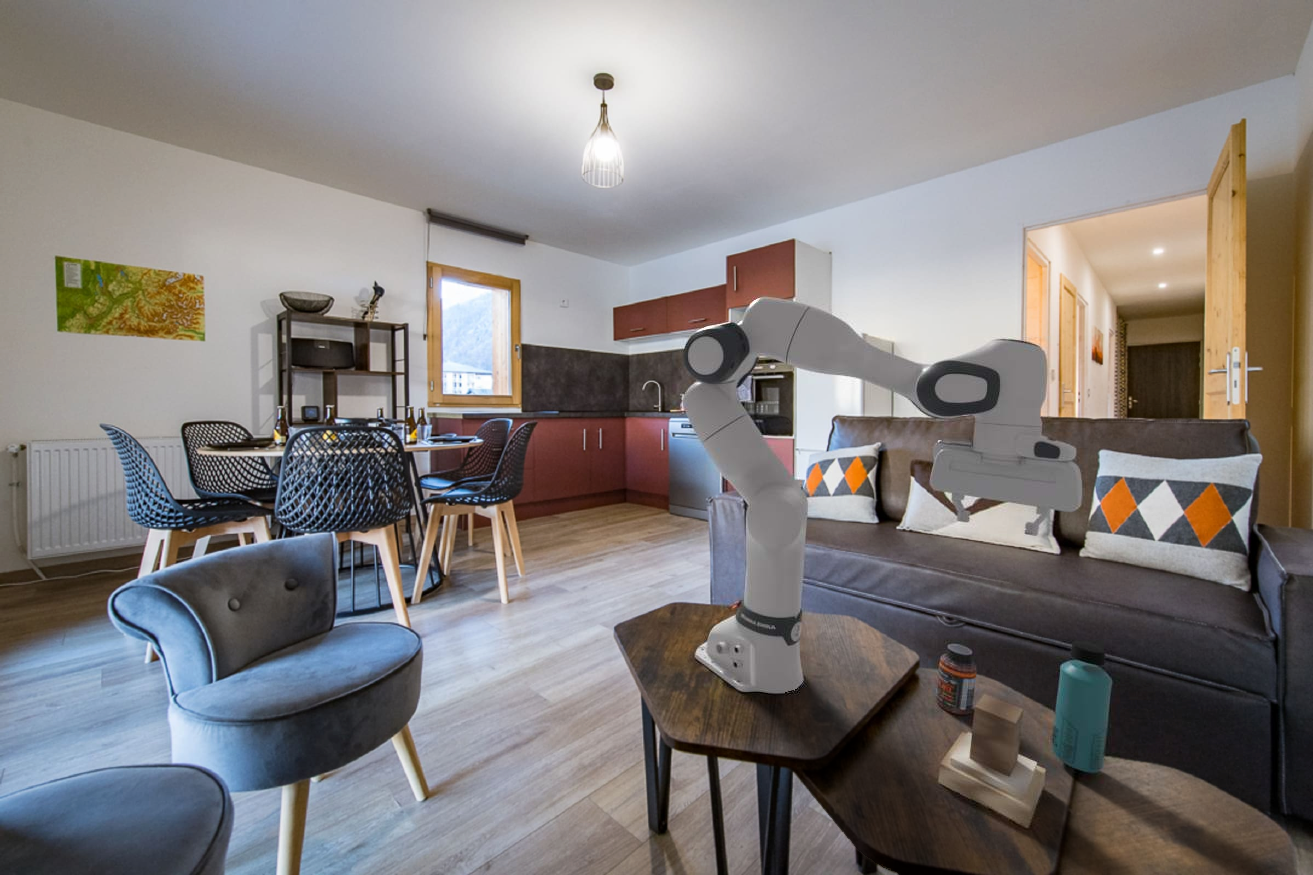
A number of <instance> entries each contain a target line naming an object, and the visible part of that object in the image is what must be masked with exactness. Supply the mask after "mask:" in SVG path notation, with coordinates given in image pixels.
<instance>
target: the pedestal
mask: <svg viewBox="0 0 1313 875" xmlns="http://www.w3.org/2000/svg"><path fill="white" fill-rule="evenodd" d="M971 738H972V732H970V731H967V732H966V733H965V731H962V732H961V733H960V734H959V736H958V737H957V739H955V741H954V744H952V745H951V747H950V749H949V750H948V752H947V753H946V755H945V756H944V757H943V759H942V760H941V761H940V763H939V771H938V784H940V785H942V786H945V787H946V788H948V789H950V790H952V791H954V792H955V793H957V792H958V794H959V793H960V794H959V795H961V796H963V797H965V798H967V799H969V800H971V799H972V800H974V801H976V802H978V803H980V804H985V805H987V806H989V807H992V808H993V809H995V810H997V811H998V812H1000V813H1002V814H1003V815H1005V816H1007V817H1009V818H1012V819H1014V820H1016V821H1018V822H1020V823H1023V824H1025V825H1026V826H1028V827H1029V824H1030V822H1031V823H1032V821H1031V819H1032V817H1033V818H1034V816H1033V814H1034V815H1035V813H1034V811H1035V808H1036V805H1037V803H1038V804H1039V802H1038V800H1039V797H1040V794H1041V791H1042V788H1043V786H1044V787H1045V780H1046V773H1047V772H1046V771H1047V769H1046V768H1044V767H1041V766H1039V765H1038V762H1037V761H1035V760H1032V759H1030V758H1028V757H1026V756H1023V755H1021V754H1020V753H1018V760H1017V763H1016V765H1015V767H1014V769H1013V771H1012V773H1011V775H1010V777H1008V776H1006V775H1004V774H1002V773H1000V772H998V771H995V770H993V769H991V768H989V767H987V766H985V765H983V764H981V763H979V762H977V761H974V760H972V759H970V758H969V757H970V747H971ZM1041 795H1042V794H1041ZM1040 798H1041V797H1040ZM972 800H971V801H972ZM974 801H973V802H974ZM1039 801H1040V800H1039ZM976 802H975V803H976ZM978 803H977V804H978ZM980 804H979V805H980ZM1037 806H1038V805H1037ZM1036 809H1037V808H1036ZM1035 812H1036V811H1035ZM1032 820H1033V819H1032ZM1030 825H1031V824H1030ZM1029 828H1030V827H1029Z"/></svg>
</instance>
